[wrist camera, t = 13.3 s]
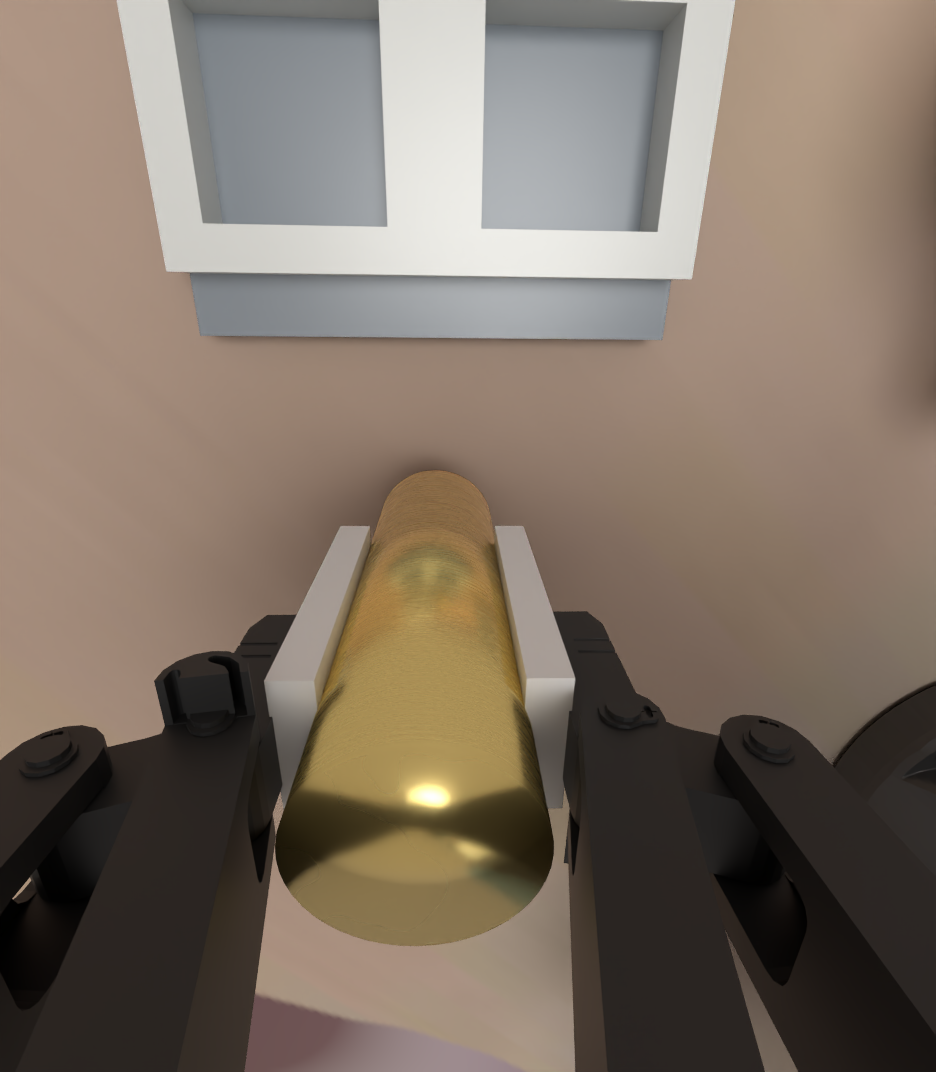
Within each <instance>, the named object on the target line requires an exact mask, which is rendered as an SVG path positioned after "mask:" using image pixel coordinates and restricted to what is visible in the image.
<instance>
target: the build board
mask: <svg viewBox="0 0 936 1072" xmlns="http://www.w3.org/2000/svg"><path fill="white" fill-rule="evenodd" d="M117 5H118V11H119V16H120V22H121V27H122V32H123V38H124V43H125V49H126V54H127V60H128V65H129V71H130V76H131V81H132V87H133V92H134V98H135V103H136V109H137V114H138V120H139V125H140V130H141V136H142V141H143V147H144V152H145V158H146V163H147V168H148V174H149V179H150V185H151V190H152V196H153V201H154V207H155V212H156V217H157V223H158V228H159V234H160V239H161V245H162V250H163V255H164V261H165V266H166V271H167V272H180V273H190V278H191V284H192V290H193V296H194V301H195V307H196V313H197V319H198V325H199V331H200V336H302V337H409V338H516V339H624V340H662V339H663V332H664V325H665V318H666V311H667V304H668V297H669V290H670V283H671V280H686V279H692V274H693V268H694V261H695V255H696V249H697V242H698V236H699V229H700V223H701V217H702V210H703V204H704V197H705V191H706V185H707V178H708V172H709V166H710V159H711V153H712V146H713V140H714V134H715V127H716V121H717V114H718V108H719V102H720V95H721V89H722V82H723V76H724V70H725V63H726V57H727V51H728V44H729V38H730V31H731V25H732V19H733V12H734V6H735V0H117Z"/></svg>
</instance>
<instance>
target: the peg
mask: <svg viewBox="0 0 936 1072" xmlns="http://www.w3.org/2000/svg"><path fill="white" fill-rule="evenodd" d="M275 853H276V861H277V865H278V869H279V872H280V875H281V877H282V879H283V881H284V883H285V885H286V886H287V888H288V890H289V891H290V893H291V894H292V895H293V897H294V898H295V899H296V900H297V901H298V902H299V903H300V904H301V905H302V906H303V907H304V908H305V909H306V910H307V911H309V912H310V913H311V914H312V915H313V916H315V917H316V918H318V919H319V920H321V921H322V922H324V923H326V924H327V925H329V926H331V927H333V928H335V929H337V930H339V931H342V932H344V933H347V934H349V935H352V936H354V937H358V938H361V939H365V940H368V941H373V942H378V943H383V944H391V945H400V946H426V945H437V944H444V943H451V942H455V941H459V940H463V939H467V938H470V937H473V936H476V935H479V934H482V933H484V932H486V931H489V930H491V929H493V928H495V927H497V926H499V925H501V924H502V923H504V922H506V921H508V920H509V919H511V918H512V917H513V916H515V915H516V914H517V913H519V912H520V911H521V910H522V909H523V908H524V907H526V906H527V905H528V904H529V903H530V902H531V901H532V899H533V898H534V897H535V896H536V895H537V893H538V892H539V891H540V889H541V887H542V886H543V884H544V882H545V881H546V879H547V876H548V874H549V871H550V869H551V865H552V860H553V855H554V840H553V834H552V828H551V823H550V818H549V813H548V808H547V803H546V798H545V792H544V787H543V782H542V777H541V772H540V767H539V762H538V757H537V751H536V746H535V741H534V736H533V731H532V726H531V722H530V719H529V717H528V714H527V712H526V710H525V706H524V701H523V696H522V690H521V685H520V680H519V674H518V669H517V664H516V658H515V653H514V648H513V642H512V637H511V632H510V626H509V621H508V616H507V611H506V605H505V600H504V595H503V589H502V584H501V579H500V573H499V568H498V563H497V557H496V552H495V547H494V531H493V526H492V521H491V516H490V511H489V507H488V504H487V502H486V500H485V498H484V496H483V495H482V493H481V492H480V491H479V490H478V489H477V487H476V486H475V485H473V484H472V483H471V482H470V481H468V480H467V479H465V478H464V477H461V476H459V475H457V474H454V473H451V472H447V471H440V470H431V471H424V472H420V473H416V474H414V475H411V476H409V477H407V478H406V479H404V480H403V481H401V482H400V483H399V484H398V485H396V486H395V488H394V489H393V490H392V491H391V492H390V494H389V495H388V497H387V499H386V501H385V503H384V506H383V509H382V512H381V515H380V518H379V521H378V524H377V527H376V530H375V533H374V536H373V539H372V542H371V547H370V550H369V553H368V556H367V559H366V562H365V565H364V568H363V571H362V574H361V577H360V580H359V583H358V587H357V590H356V593H355V596H354V599H353V602H352V605H351V608H350V611H349V614H348V617H347V620H346V624H345V627H344V630H343V633H342V636H341V639H340V642H339V645H338V648H337V651H336V654H335V657H334V660H333V664H332V667H331V670H330V673H329V676H328V679H327V682H326V685H325V688H324V691H323V694H322V697H321V701H320V704H319V707H318V710H317V712H316V714H315V717H314V720H313V723H312V726H311V729H310V732H309V735H308V738H307V741H306V744H305V747H304V750H303V753H302V756H301V760H300V763H299V766H298V769H297V772H296V775H295V778H294V781H293V784H292V787H291V790H290V793H289V796H288V799H287V802H286V805H285V808H284V811H283V815H282V818H281V821H280V824H279V827H278V830H277V834H276V842H275Z"/></svg>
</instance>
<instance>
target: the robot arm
mask: <svg viewBox="0 0 936 1072" xmlns="http://www.w3.org/2000/svg"><path fill="white" fill-rule="evenodd" d="M370 547H371V539H370V526H340V528H339V530H338V532H337V534H336V536H335V538H334V540H333V542H332V544H331V547H330V549H329V551H328V553H327V555H326V557H325V559H324V561H323V563H322V565H321V567H320V569H319V571H318V573H317V575H316V577H315V579H314V581H313V583H312V585H311V587H310V589H309V591H308V593H307V595H306V597H305V599H304V601H303V603H302V605H301V607H300V609H299V611H298V613H297V615H267V616H266V617H264V618H263V619H261V620H260V621H259V622H257V623H256V624H255V625H253V626H252V627H250V628H249V630H248V632H247V633H246V635H245V636H244V638H243V640H242V641H241V643H240V646H238V648H237V649H236V651H235V652H234V653H231V652H228V651H211V652H206V653H201V654H195V655H192V656H190V657H187V658H184V659H182V660H179V661H177V662H175V663H174V664H172V665H171V666H169V667H168V668H166V669H165V670H163V671H162V672H161V674H160V675H159V676H158V677H157V678H156V679H155V681H154V682H155V686H156V690H157V694H158V699H159V703H160V707H161V711H162V715H163V719H164V723H165V727H164V729H163V732H162V734H159V735H156V736H152V737H149V738H146V739H141V740H137V741H133V742H128V743H124V744H119V745H115V746H111V747H107V745H106V741H105V738H104V735H103V734H102V733H101V732H100V731H98V730H97V729H96V728H92V727H88V726H83V725H80V726H69V727H62V728H59V729H54V730H51V731H48V732H45V733H42V734H40V735H38V736H36V737H34V738H32V739H30V740H28V741H26V742H24V743H22V744H21V745H19V746H18V747H16V748H15V749H14V750H12V751H11V752H10V753H8V754H7V755H6V756H4V757H3V758H2V759H1V760H0V1072H244V1070H245V1062H246V1055H247V1047H248V1039H249V1033H250V1025H251V1018H252V1010H253V1003H254V995H255V988H256V980H257V973H258V965H259V958H260V950H261V943H262V935H263V928H264V920H265V913H266V905H267V898H268V890H269V883H270V875H271V868H272V860H273V853H274V846H275V838H276V835H275V826H274V819H273V811H274V808H275V805H276V802H277V799H278V796H279V793H280V790H281V796H282V802H283V809H284V808H285V805H286V802H287V799H288V796H289V793H290V790H291V787H292V784H293V781H294V778H295V775H296V772H297V769H298V766H299V763H300V760H301V756H302V753H303V750H304V747H305V744H306V741H307V738H308V735H309V732H310V729H311V726H312V723H313V720H314V717H315V714H316V712H317V710H318V707H319V704H320V701H321V697H322V694H323V691H324V688H325V685H326V682H327V679H328V676H329V673H330V670H331V667H332V664H333V660H334V657H335V654H336V651H337V648H338V645H339V642H340V639H341V636H342V633H343V630H344V627H345V624H346V620H347V617H348V614H349V611H350V608H351V605H352V602H353V599H354V596H355V593H356V590H357V587H358V583H359V580H360V577H361V574H362V571H363V568H364V565H365V562H366V559H367V556H368V553H369V550H370ZM494 547H495V552H496V557H497V563H498V568H499V573H500V579H501V584H502V589H503V595H504V600H505V605H506V611H507V616H508V621H509V626H510V632H511V637H512V642H513V648H514V653H515V658H516V664H517V669H518V674H519V680H520V685H521V690H522V696H523V701H524V706H525V710H526V712H527V714H528V717H529V719H530V722H531V726H532V731H533V736H534V741H535V746H536V751H537V757H538V762H539V767H540V772H541V777H542V782H543V787H544V792H545V798H546V803H547V808H562V804H563V795H564V786H565V791H566V795H567V799H568V803H569V807H570V811H569V820H568V829H567V839H566V848H565V857H564V863H568V864H569V893H570V923H571V953H572V983H573V1013H574V1042H575V1072H765V1071H764V1067H763V1064H762V1060H761V1056H760V1053H759V1049H758V1046H757V1042H756V1039H755V1035H754V1032H753V1028H752V1024H751V1021H750V1017H749V1014H748V1010H747V1007H746V1003H745V1000H744V996H743V992H742V989H741V985H740V982H739V978H738V975H737V971H736V968H735V964H734V961H733V957H732V953H731V950H730V946H729V943H728V939H727V936H726V932H727V934H728V936H729V938H730V940H731V942H732V944H733V946H734V947H735V949H736V951H737V953H738V955H739V957H740V959H741V961H742V963H743V965H744V967H745V969H746V971H747V973H748V975H749V977H750V978H751V980H752V982H753V984H754V986H755V988H756V990H757V992H758V994H759V996H760V998H761V1000H762V1002H763V1004H764V1006H765V1008H766V1009H767V1011H768V1013H769V1015H770V1017H771V1019H772V1021H773V1023H774V1025H775V1027H776V1029H777V1031H778V1033H779V1035H780V1037H781V1039H782V1041H783V1042H784V1044H785V1046H786V1048H787V1050H788V1052H789V1054H790V1056H791V1058H792V1060H793V1062H794V1064H795V1066H796V1068H797V1070H798V1072H936V685H935V686H933V687H931V688H929V689H926V690H925V691H923V692H921V693H919V694H917V695H915V696H913V697H911V698H910V699H908V700H906V701H904V702H903V703H901V704H900V705H898V706H896V707H895V708H893V709H892V710H891V711H889V712H888V713H886V714H885V715H884V716H882V717H881V718H880V719H878V720H877V721H876V722H875V723H874V724H872V725H871V726H870V727H869V728H868V729H867V730H866V731H865V732H863V733H862V734H861V735H860V736H859V737H858V738H857V739H856V741H855V742H854V743H853V744H852V745H851V746H850V747H849V748H848V750H847V751H846V752H845V753H844V755H843V756H842V758H841V759H840V760H839V762H838V763H837V765H836V767H835V768H834V767H833V766H832V765H831V764H830V763H829V762H828V761H827V760H826V759H825V758H824V756H823V755H822V754H821V753H820V752H819V751H818V750H817V749H816V748H815V747H814V746H813V745H812V744H811V743H810V742H809V741H808V740H807V739H806V738H805V737H803V736H802V735H801V734H800V733H799V732H797V731H796V730H794V729H793V728H791V727H789V726H787V725H785V724H783V723H781V722H779V721H776V720H772V719H769V718H766V717H762V716H754V715H740V716H736V717H732V718H729V719H728V720H727V721H726V722H725V723H723V724H722V726H721V731H720V735H719V736H717V735H712V734H708V733H703V732H698V731H694V730H689V729H685V728H682V727H678V726H675V725H672V724H670V723H668V722H666V719H665V717H664V715H663V714H662V712H661V710H660V708H659V707H657V706H656V705H655V704H654V703H653V702H651V701H650V700H649V699H648V698H646V697H643V696H641V695H639V694H637V693H636V692H635V690H634V688H633V686H632V684H631V682H630V680H629V678H628V676H627V674H626V672H625V670H624V668H623V666H622V664H621V661H620V659H619V657H618V655H617V653H615V649H614V647H613V645H612V643H611V641H609V637H608V635H607V633H606V631H605V628H604V626H603V624H602V623H601V622H599V621H598V620H597V619H596V618H594V617H593V616H592V615H591V614H589V613H588V612H553V611H552V608H551V605H550V603H549V600H548V597H547V594H546V591H545V588H544V585H543V582H542V579H541V576H540V573H539V570H538V567H537V564H536V561H535V559H534V556H533V553H532V550H531V547H530V544H529V541H528V538H527V535H526V532H525V529H524V526H495V534H494ZM29 877H30V878H31V880H32V881H31V882H30V883H29V884H28V885H27V887H26V888H25V889H24V890H23V891H22V892H21V893H20V894H19V895H18V896H17V897H16V898H15V899H14V900H13V899H12V898H13V897H14V896H15V895H16V893H17V892H18V891H19V890H20V888H21V887H22V886H23V885H24V883H25V882H26V881H27V880H28V879H29ZM724 928H725V929H724ZM725 930H726V932H725Z"/></svg>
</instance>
